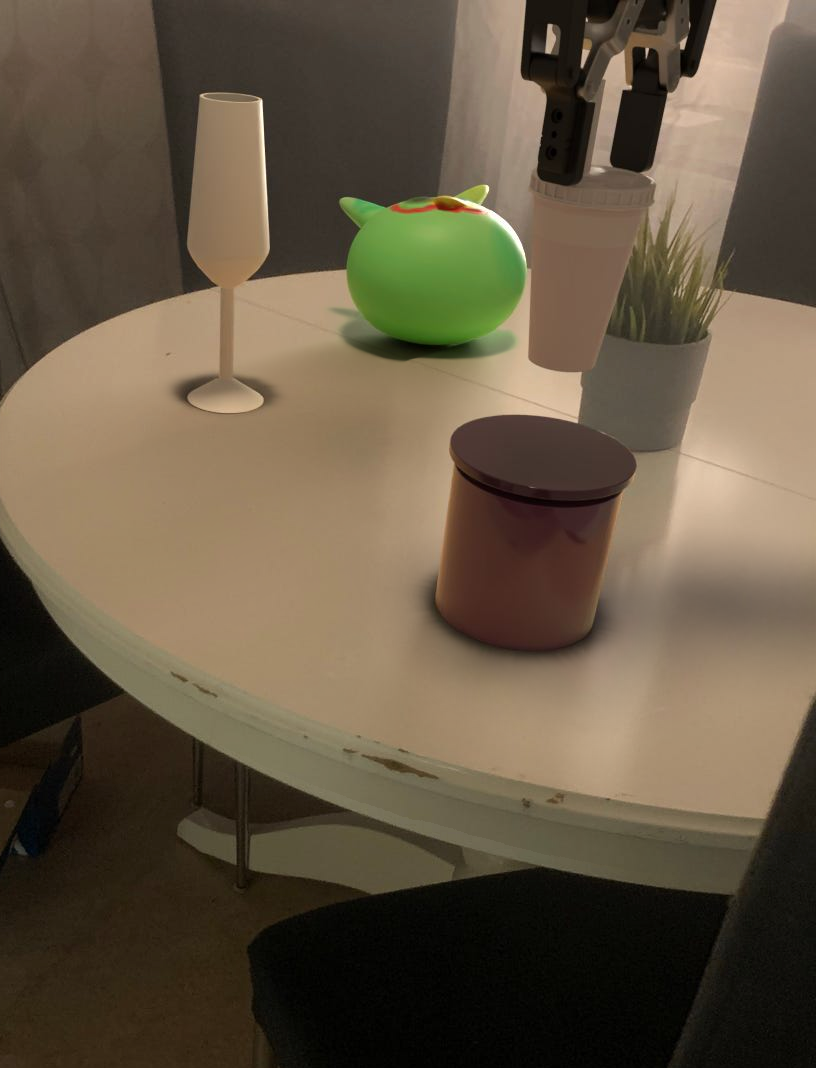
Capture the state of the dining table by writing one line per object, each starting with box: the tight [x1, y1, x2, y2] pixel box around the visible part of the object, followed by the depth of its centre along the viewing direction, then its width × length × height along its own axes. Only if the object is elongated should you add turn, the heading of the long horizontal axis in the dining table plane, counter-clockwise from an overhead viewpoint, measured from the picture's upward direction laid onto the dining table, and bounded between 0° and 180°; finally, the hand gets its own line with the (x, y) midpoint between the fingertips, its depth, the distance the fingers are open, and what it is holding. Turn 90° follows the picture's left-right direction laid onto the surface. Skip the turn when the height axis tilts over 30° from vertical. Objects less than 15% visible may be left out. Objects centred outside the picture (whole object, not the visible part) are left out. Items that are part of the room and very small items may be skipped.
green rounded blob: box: [338, 184, 528, 346], centre depth 112 cm, size 18×17×15 cm
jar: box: [434, 414, 638, 651], centre depth 68 cm, size 11×11×11 cm
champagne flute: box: [186, 92, 271, 414], centre depth 91 cm, size 7×7×24 cm
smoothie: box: [527, 78, 657, 373], centre depth 58 cm, size 6×6×14 cm
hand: (595, 175), depth 57 cm, fingers closed on smoothie, 6 cm apart
